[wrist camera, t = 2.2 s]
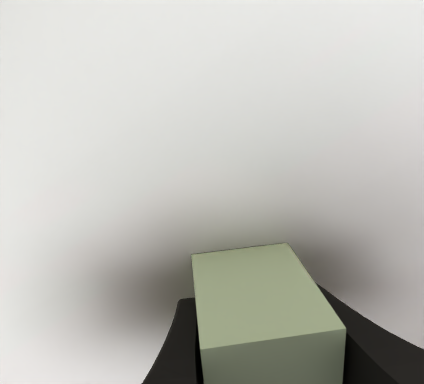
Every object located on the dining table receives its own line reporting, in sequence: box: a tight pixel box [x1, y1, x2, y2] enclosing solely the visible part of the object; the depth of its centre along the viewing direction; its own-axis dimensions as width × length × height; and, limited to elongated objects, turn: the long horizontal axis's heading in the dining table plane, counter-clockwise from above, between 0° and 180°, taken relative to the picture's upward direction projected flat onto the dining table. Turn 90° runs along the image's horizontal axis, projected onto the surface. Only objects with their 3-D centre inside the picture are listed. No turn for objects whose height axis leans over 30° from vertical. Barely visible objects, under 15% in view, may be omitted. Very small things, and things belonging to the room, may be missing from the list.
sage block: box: [191, 243, 346, 384], centre depth 12 cm, size 4×4×5 cm
